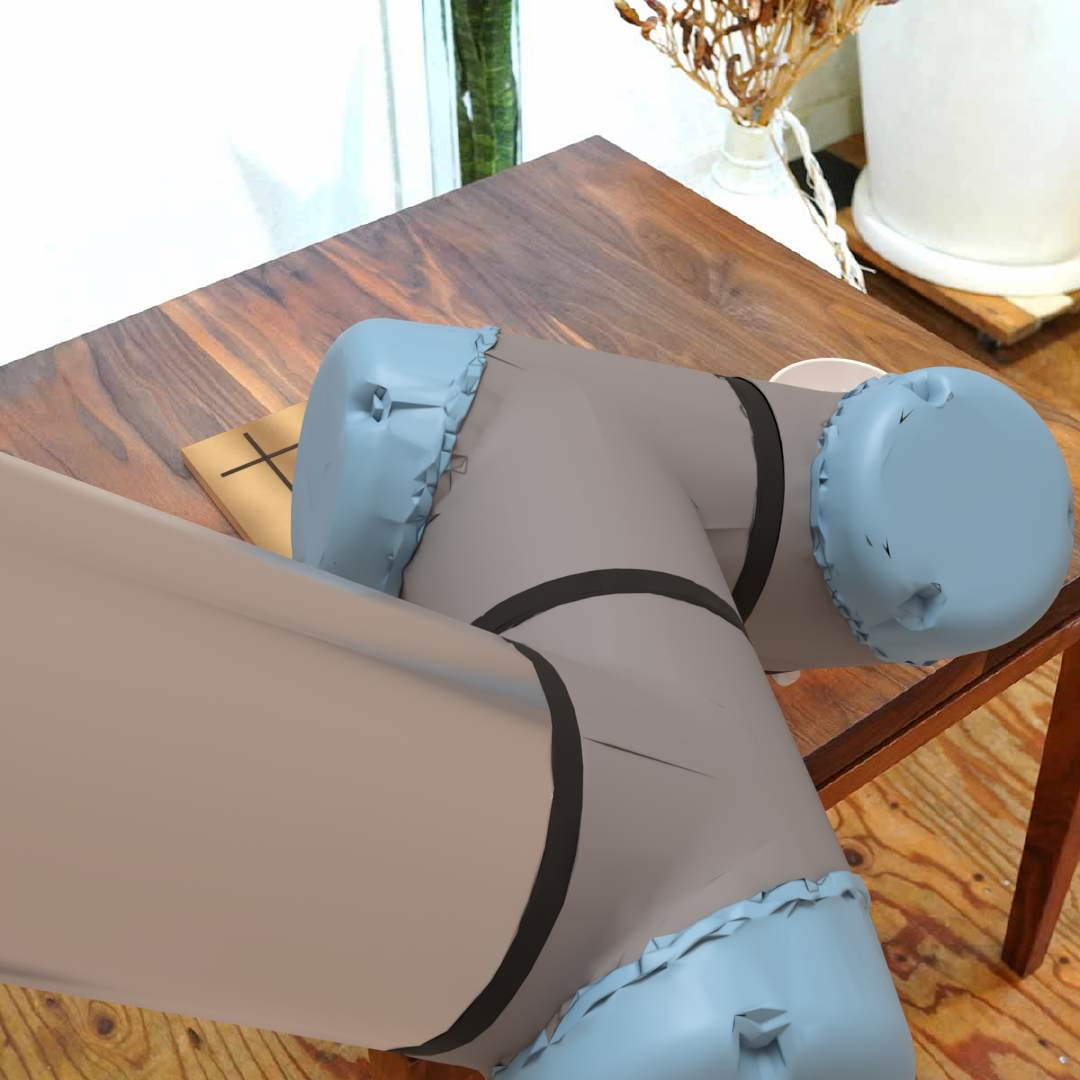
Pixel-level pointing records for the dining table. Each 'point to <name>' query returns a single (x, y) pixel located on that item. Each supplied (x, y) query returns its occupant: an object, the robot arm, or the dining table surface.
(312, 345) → the dining table surface
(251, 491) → the grid board
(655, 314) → the dining table surface
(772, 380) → the white cup
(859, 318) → the dining table surface
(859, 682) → the dining table surface
